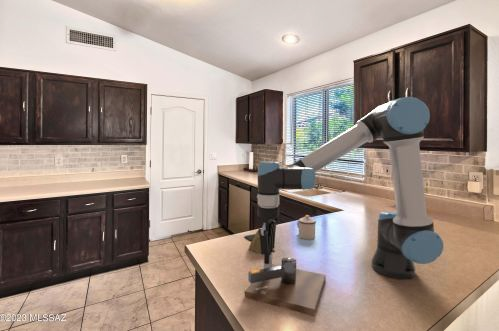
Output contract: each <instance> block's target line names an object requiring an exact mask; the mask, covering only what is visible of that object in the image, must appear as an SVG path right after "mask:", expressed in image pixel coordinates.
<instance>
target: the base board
mask: <svg viewBox="0 0 499 331" xmlns="http://www.w3.org/2000/svg"><path fill="white" fill-rule="evenodd" d="M276 266H280V265H279V264H275V263H274V264H273V263H272V267H276ZM325 283H326V274H323V273H318V272H312V271H308V270H303V269H297V268H296V282H295V283H293V284H286V283H284V282H282V281H281V277H280V278H275V279H271V280H266V281H261V282H256V283H250V284H249V285H248V287H247V288H246V289H245V290H244V298H246V299H251V300H254V301H258V302H262V303H266V304H269V305H272V306H276V307H280V308H283V309H287V310H291V311H295V312H299V313H302V314H306V315H309V316H313V317H315V315H316V312H317V308H318V306H319V303H320V298H321V296H322V293H323V289H324V286H325Z"/></svg>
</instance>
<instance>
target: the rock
mask: <svg viewBox="0 0 499 331" xmlns="http://www.w3.org/2000/svg"><path fill="white" fill-rule="evenodd" d="M259 229H260V230H262V228H258V230H257V231H256V233H254V234H255V236H254V238H253V240H252V241H250V243H249V246H248V250H249V251H252V252H253V253H254V252H255V253H260V254H261V245H260V235H259ZM271 253H272V254H273V252H271Z"/></svg>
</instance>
